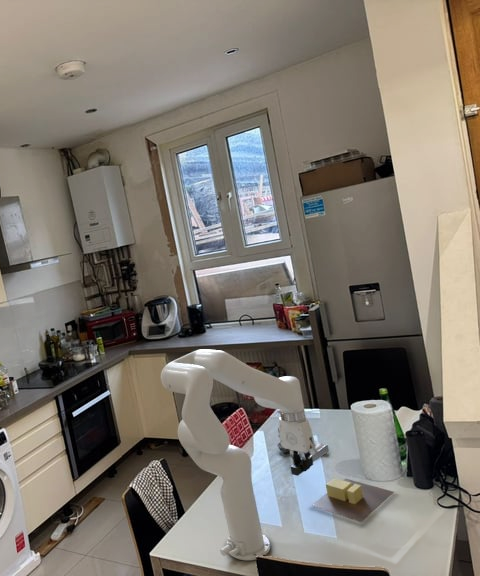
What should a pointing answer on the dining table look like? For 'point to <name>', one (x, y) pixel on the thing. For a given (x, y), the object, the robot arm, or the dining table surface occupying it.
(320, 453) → the knife
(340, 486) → the butter block
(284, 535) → the dining table surface
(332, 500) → the butter board
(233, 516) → the robot arm
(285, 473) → the dining table surface
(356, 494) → the butter pat
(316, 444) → the donut
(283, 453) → the grey chess piece
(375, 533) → the dining table surface
